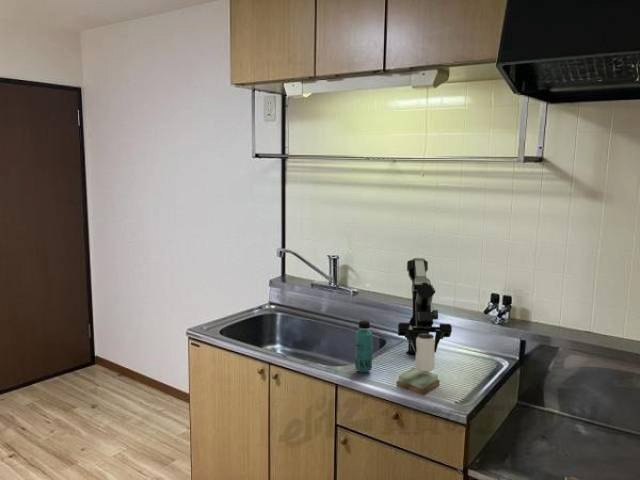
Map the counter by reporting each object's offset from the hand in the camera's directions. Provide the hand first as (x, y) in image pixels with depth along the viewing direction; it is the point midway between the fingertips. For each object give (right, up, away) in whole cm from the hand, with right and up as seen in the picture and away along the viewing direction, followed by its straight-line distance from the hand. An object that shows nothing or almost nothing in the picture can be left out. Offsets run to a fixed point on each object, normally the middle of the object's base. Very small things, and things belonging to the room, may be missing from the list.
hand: (425, 351), depth 183 cm
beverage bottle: (-20, -11, +16) cm, 28 cm away
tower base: (-2, -13, +3) cm, 13 cm away
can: (0, -7, +2) cm, 7 cm away
